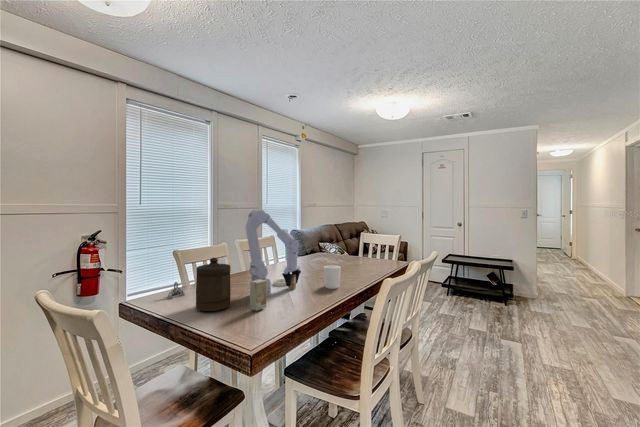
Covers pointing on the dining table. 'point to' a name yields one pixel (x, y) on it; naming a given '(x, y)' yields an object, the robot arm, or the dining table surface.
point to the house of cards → (175, 292)
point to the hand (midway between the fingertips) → (291, 284)
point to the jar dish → (279, 282)
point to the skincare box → (257, 294)
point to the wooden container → (213, 286)
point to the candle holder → (332, 276)
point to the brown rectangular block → (293, 283)
